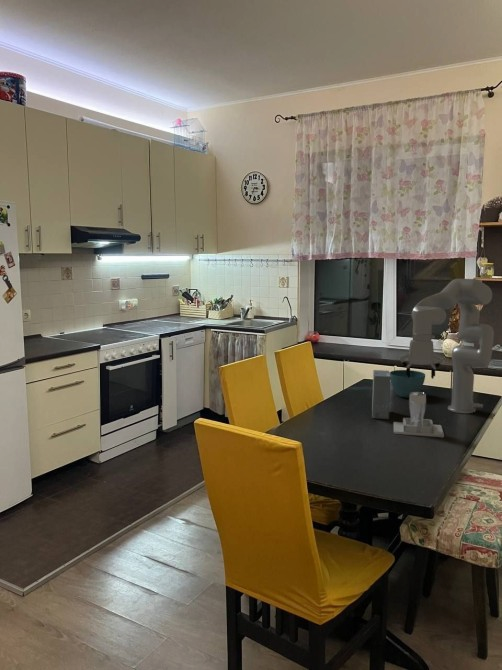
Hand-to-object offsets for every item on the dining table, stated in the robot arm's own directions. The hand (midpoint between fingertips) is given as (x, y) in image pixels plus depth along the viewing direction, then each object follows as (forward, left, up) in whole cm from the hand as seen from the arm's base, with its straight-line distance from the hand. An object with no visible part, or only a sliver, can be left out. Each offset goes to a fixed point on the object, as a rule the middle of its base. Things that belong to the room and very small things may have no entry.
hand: (420, 377), depth 237 cm
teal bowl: (+3, -58, -23) cm, 63 cm away
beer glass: (+1, +2, -22) cm, 22 cm away
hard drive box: (+16, -18, -23) cm, 33 cm away
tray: (0, +3, -23) cm, 23 cm away
